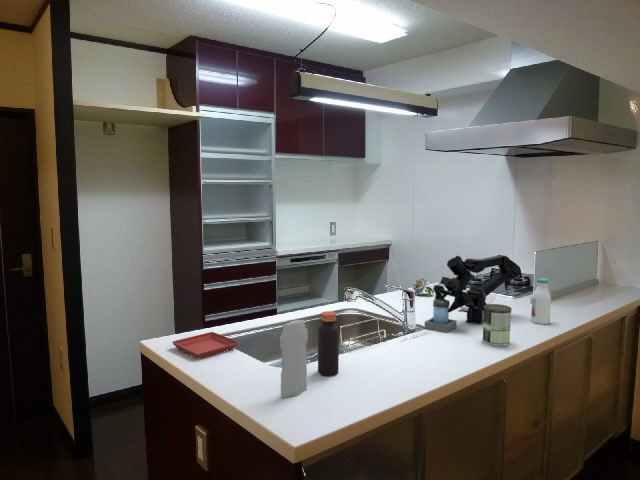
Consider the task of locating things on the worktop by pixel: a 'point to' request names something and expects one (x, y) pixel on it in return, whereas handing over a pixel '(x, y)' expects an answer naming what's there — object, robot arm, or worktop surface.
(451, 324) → the cartridge housing
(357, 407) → the worktop surface
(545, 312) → the milk bottle
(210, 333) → the plant saucer
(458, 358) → the worktop surface
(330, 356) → the vinegar
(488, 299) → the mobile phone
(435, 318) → the blue-grey upright cylinder
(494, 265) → the robot arm
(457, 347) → the worktop surface
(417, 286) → the passion flower
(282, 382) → the tall pale column
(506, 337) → the coffee can
